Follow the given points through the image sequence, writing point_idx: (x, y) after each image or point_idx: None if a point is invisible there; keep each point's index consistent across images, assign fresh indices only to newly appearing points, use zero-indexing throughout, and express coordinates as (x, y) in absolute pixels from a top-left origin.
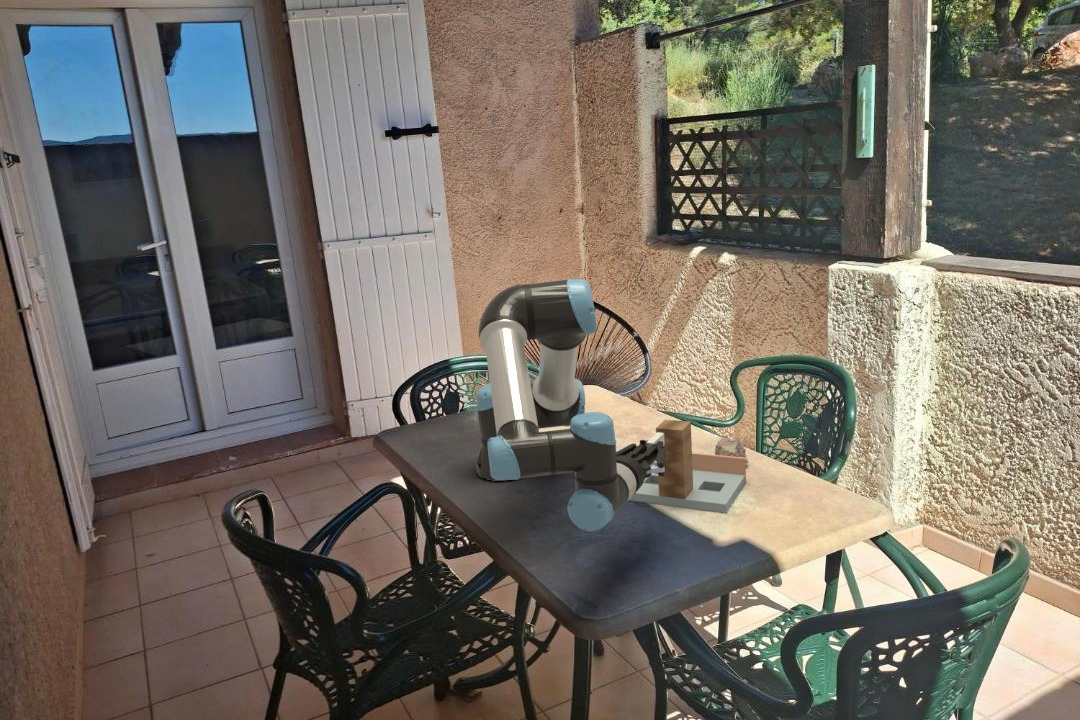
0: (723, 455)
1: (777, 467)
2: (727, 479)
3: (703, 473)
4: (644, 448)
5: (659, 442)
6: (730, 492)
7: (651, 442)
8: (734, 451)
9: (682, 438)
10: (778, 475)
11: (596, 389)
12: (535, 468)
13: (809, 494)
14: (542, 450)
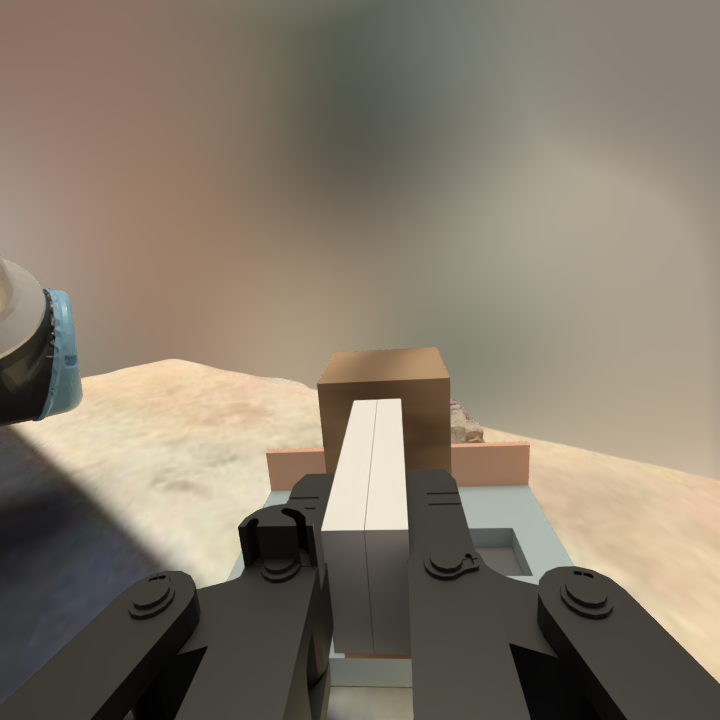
0: None
1: (540, 446)
2: (503, 509)
3: None
4: (310, 623)
5: (424, 485)
6: None
7: (377, 516)
8: (479, 427)
9: (449, 416)
10: (568, 466)
11: (182, 360)
12: None
13: (716, 517)
14: None
